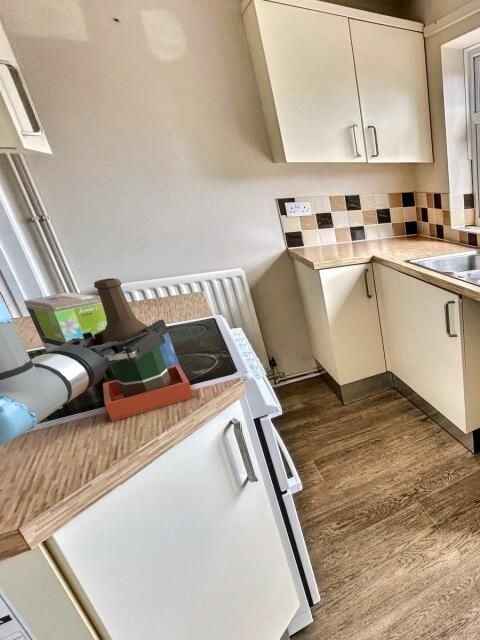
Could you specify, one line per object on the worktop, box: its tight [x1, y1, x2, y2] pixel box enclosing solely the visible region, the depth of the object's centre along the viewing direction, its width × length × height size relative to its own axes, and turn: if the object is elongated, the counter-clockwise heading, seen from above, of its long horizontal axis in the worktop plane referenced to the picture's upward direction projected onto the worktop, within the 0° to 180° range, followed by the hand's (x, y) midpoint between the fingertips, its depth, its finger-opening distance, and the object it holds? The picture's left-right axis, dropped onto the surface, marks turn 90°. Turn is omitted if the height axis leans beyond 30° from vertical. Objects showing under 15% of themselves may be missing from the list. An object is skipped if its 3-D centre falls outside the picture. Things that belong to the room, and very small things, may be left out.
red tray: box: [102, 364, 195, 422], centre depth 85 cm, size 13×13×4 cm
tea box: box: [23, 291, 107, 352], centre depth 109 cm, size 15×10×15 cm, turn 65°
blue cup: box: [159, 331, 180, 367], centre depth 94 cm, size 7×7×10 cm
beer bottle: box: [93, 277, 172, 398], centre depth 81 cm, size 8×8×24 cm
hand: (141, 328), depth 85 cm, fingers closed on beer bottle, 7 cm apart
